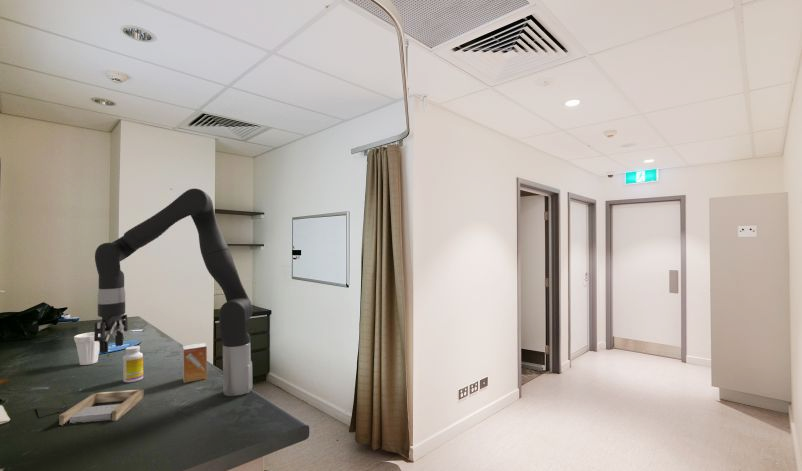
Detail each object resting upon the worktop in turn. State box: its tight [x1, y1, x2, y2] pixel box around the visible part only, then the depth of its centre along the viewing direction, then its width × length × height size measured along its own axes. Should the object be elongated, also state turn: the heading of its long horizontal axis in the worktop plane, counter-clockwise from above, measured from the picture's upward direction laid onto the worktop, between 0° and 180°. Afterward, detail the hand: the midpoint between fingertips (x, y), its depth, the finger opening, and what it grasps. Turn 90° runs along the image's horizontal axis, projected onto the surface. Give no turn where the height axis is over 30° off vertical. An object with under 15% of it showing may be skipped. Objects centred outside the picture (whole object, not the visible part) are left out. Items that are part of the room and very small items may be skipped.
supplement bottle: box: [122, 345, 144, 383], centre depth 152 cm, size 7×7×13 cm
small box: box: [182, 342, 208, 384], centre depth 152 cm, size 8×6×13 cm
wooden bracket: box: [58, 388, 145, 426], centre depth 125 cm, size 15×17×3 cm
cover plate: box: [69, 403, 121, 424], centre depth 121 cm, size 11×7×2 cm, turn 101°
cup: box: [73, 331, 100, 366], centre depth 174 cm, size 10×10×13 cm
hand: (111, 349), depth 131 cm, fingers open, 8 cm apart
